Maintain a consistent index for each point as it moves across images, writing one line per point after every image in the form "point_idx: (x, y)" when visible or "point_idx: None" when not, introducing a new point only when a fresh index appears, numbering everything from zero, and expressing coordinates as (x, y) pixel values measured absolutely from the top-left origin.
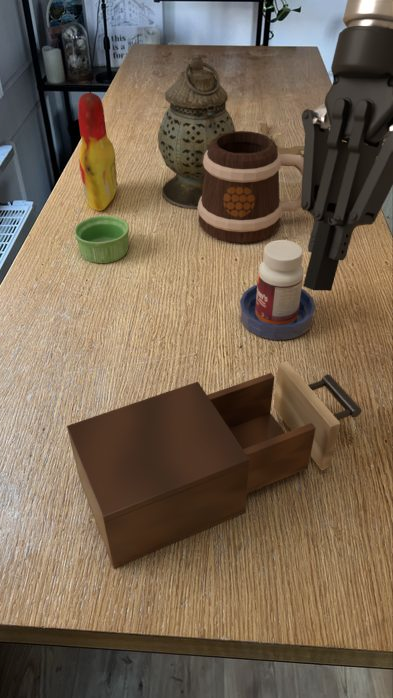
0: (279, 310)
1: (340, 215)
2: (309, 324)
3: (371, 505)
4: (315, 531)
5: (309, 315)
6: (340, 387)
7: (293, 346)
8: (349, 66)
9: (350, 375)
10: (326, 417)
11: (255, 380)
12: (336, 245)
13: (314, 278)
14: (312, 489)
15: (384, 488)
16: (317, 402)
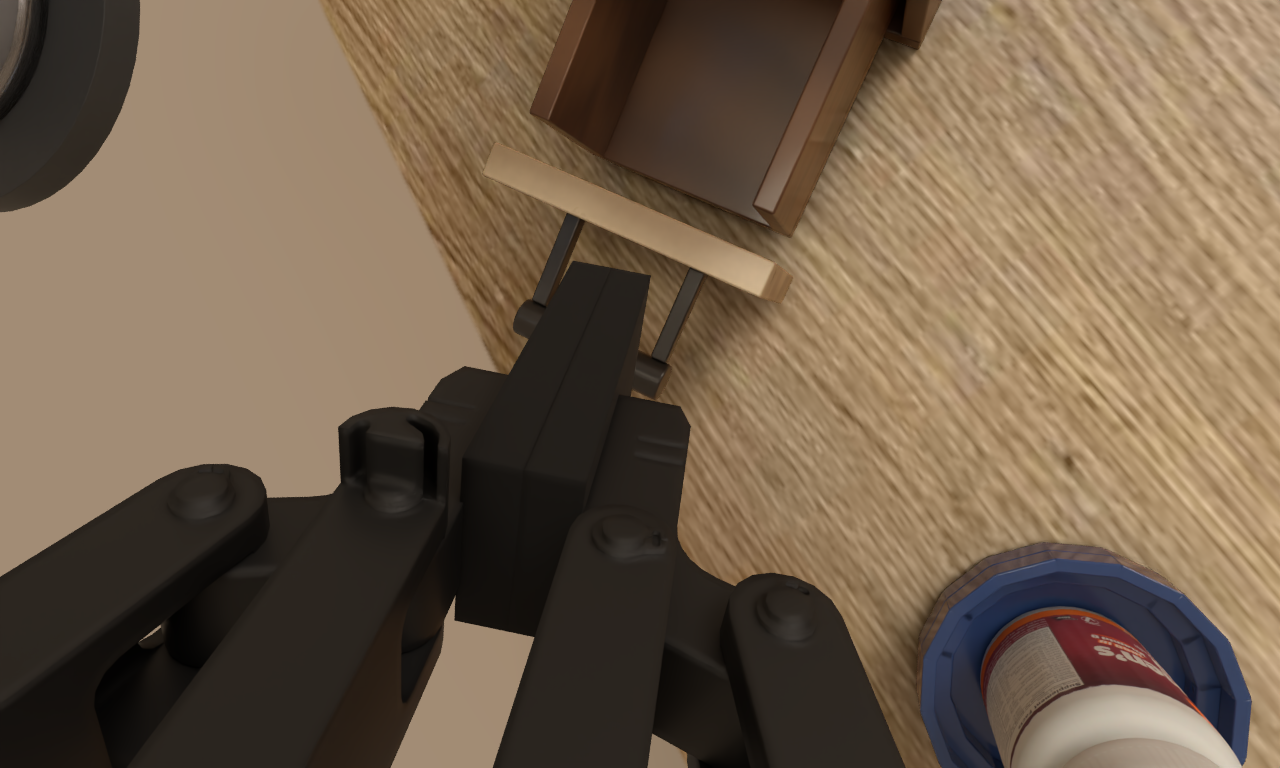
0: (1028, 646)
1: (364, 515)
2: (917, 683)
3: (448, 194)
4: (504, 43)
5: (929, 704)
6: None
7: (913, 572)
8: None
9: (697, 556)
10: (522, 164)
11: (794, 144)
12: (445, 412)
13: (577, 287)
14: None
15: (448, 257)
16: (573, 197)
